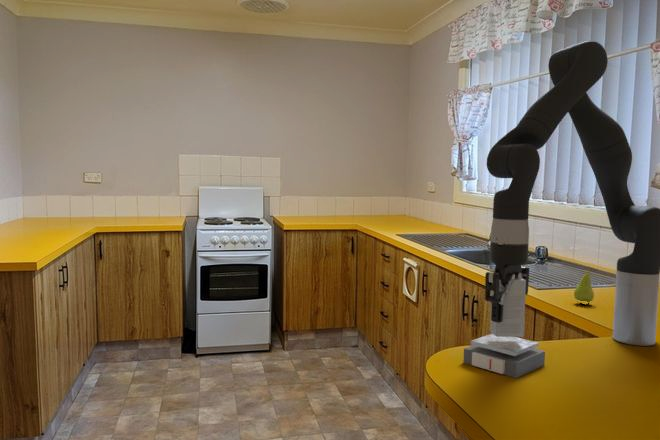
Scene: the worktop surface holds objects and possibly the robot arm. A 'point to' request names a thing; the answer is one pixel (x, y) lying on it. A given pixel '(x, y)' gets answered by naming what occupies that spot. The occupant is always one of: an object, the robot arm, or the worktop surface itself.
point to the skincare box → (511, 311)
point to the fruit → (584, 289)
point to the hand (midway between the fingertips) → (506, 318)
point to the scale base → (504, 360)
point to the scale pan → (505, 344)
